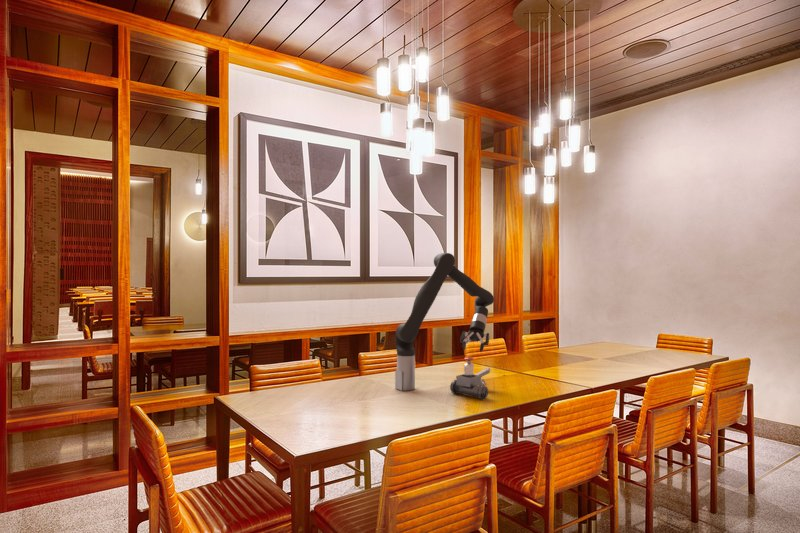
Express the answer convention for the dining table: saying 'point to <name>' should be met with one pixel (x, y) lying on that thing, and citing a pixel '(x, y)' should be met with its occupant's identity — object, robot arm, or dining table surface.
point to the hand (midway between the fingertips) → (472, 350)
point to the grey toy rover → (469, 386)
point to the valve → (468, 367)
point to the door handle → (483, 375)
